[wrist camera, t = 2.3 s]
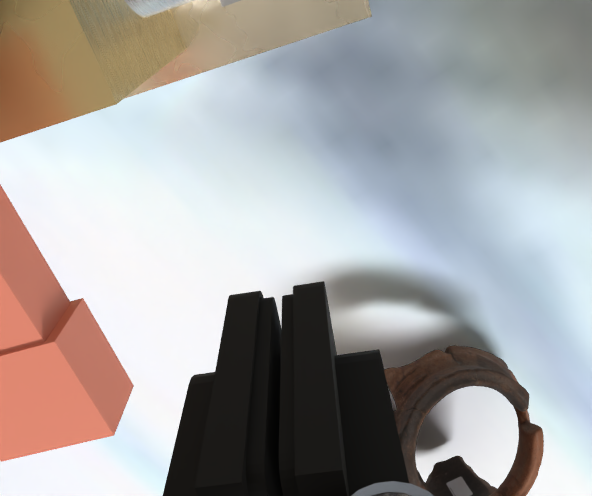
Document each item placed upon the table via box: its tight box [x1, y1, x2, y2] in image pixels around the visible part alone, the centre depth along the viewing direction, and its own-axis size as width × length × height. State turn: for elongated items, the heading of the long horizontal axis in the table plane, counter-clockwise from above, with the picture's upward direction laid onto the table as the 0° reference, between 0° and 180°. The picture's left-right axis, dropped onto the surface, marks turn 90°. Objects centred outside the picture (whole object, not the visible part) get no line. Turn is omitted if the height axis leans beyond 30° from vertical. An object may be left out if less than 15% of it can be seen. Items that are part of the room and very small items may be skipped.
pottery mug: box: [384, 345, 544, 496], centre depth 29 cm, size 12×10×8 cm
